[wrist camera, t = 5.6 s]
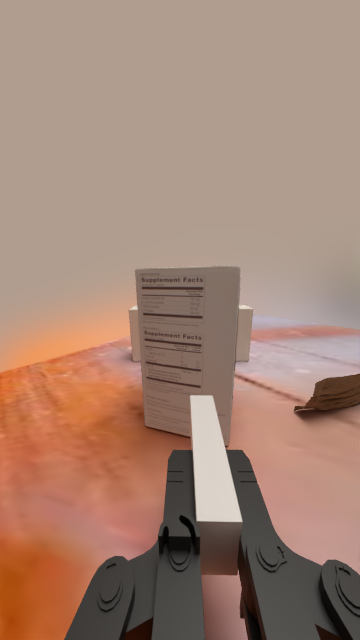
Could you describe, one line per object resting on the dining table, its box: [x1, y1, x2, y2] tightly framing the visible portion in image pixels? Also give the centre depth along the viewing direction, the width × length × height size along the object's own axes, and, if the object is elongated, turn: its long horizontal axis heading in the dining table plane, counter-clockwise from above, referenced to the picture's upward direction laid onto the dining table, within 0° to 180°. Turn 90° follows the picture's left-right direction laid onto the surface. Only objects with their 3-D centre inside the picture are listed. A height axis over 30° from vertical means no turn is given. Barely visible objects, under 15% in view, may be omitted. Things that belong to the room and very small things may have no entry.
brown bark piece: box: [294, 374, 360, 411], centre depth 23 cm, size 15×2×5 cm, turn 109°
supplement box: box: [135, 266, 240, 446], centre depth 21 cm, size 10×9×17 cm
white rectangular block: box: [129, 305, 253, 361], centre depth 36 cm, size 4×22×10 cm, turn 89°
